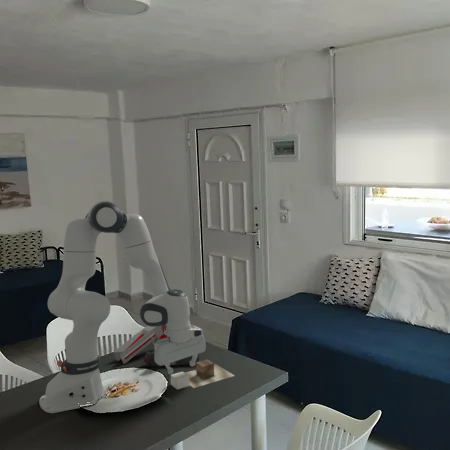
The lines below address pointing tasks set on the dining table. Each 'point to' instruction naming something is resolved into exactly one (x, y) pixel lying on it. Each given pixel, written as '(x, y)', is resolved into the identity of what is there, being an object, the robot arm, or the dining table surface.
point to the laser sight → (151, 362)
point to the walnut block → (205, 369)
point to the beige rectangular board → (218, 375)
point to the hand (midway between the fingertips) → (181, 369)
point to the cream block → (179, 380)
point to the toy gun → (139, 342)
